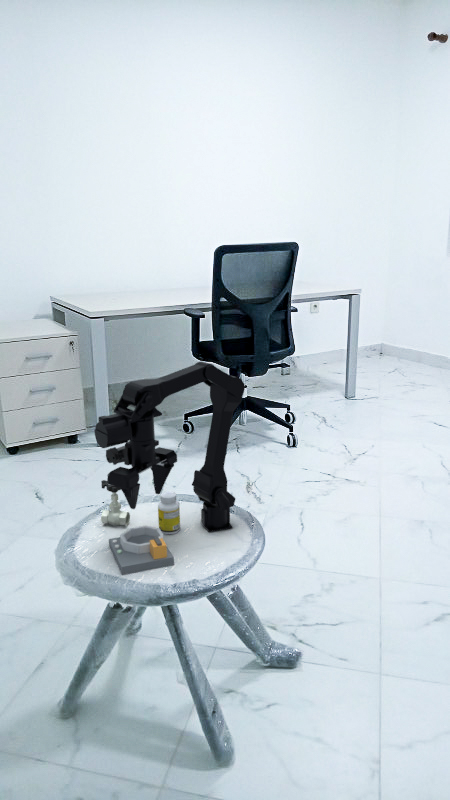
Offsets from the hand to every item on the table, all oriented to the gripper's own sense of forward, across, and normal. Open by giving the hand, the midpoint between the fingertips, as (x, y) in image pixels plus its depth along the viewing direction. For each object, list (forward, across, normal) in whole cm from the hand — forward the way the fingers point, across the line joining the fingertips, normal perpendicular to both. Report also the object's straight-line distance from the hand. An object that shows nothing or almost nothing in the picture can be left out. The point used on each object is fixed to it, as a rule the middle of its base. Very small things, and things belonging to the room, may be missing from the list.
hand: (145, 501), depth 146 cm
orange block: (+11, +3, +6) cm, 13 cm away
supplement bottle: (+13, -11, -2) cm, 17 cm away
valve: (+13, -6, -16) cm, 21 cm away
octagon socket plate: (+13, +3, 0) cm, 13 cm away
